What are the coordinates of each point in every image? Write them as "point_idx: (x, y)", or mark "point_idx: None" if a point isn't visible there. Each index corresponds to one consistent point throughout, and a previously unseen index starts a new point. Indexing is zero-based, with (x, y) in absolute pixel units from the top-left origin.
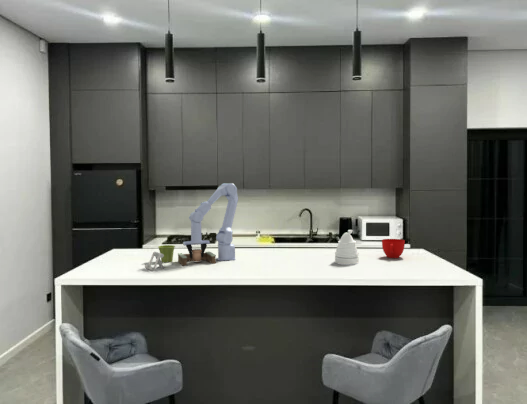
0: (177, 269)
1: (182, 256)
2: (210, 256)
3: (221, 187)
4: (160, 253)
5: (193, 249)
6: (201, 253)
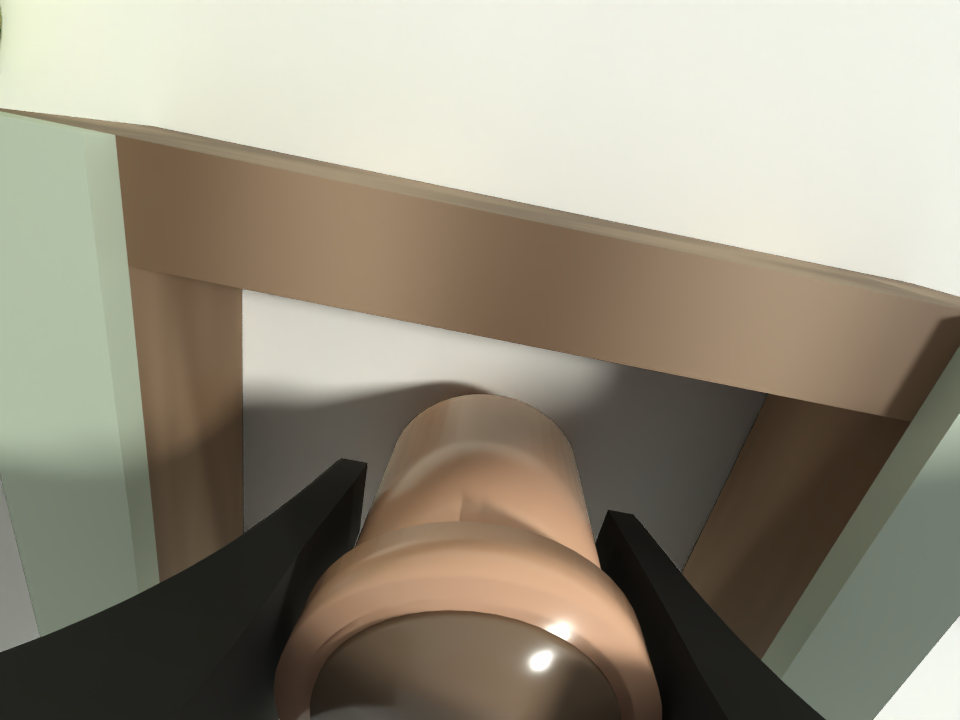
0: None
1: None
2: None
3: None
4: None
5: (369, 668)
6: (627, 598)
